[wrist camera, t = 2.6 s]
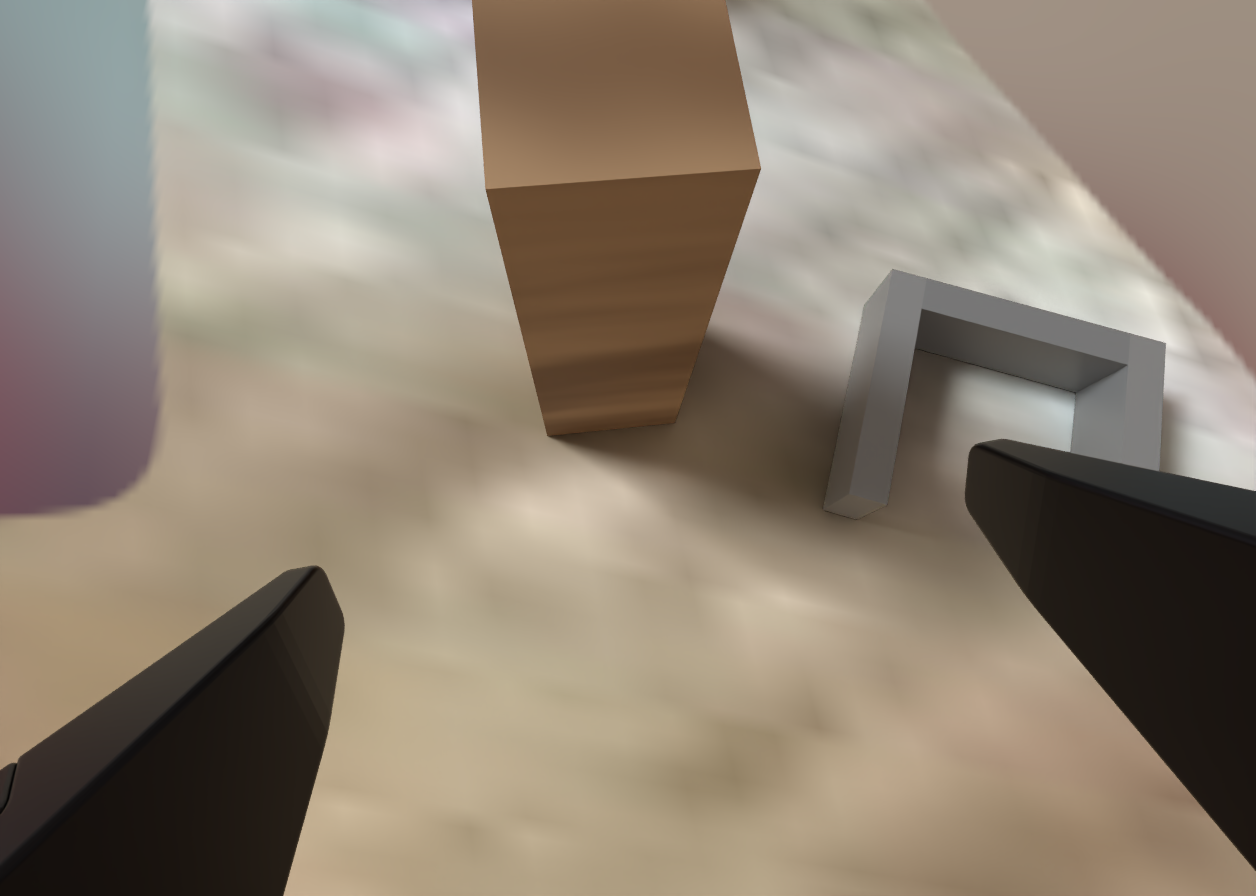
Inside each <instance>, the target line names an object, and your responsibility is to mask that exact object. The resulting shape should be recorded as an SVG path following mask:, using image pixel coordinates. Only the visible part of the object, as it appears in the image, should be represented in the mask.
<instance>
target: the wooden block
mask: <svg viewBox="0 0 1256 896" xmlns="http://www.w3.org/2000/svg"><path fill="white" fill-rule="evenodd" d="M472 7H473V21H474V35H475V49H476V63H477V76H478V90H479V104H480V118H481V132H482V146H483V160H484V174H485V188H486V193H487V197H488V201H489V205H490V209H491V213H492V217H493V221H494V225H495V229H496V233H497V237H498V241H499V245H500V249H501V253H502V257H503V261H504V265H505V269H506V273H507V277H508V281H509V285H510V288H511V292H512V296H513V300H514V304H515V308H516V312H517V316H518V320H519V324H520V328H521V332H522V336H523V340H524V344H525V348H526V352H527V356H528V360H529V364H530V368H531V372H532V376H533V380H534V384H535V388H536V392H537V396H538V400H539V404H540V408H541V412H542V416H543V420H544V424H545V428H546V432H547V436H552V435H562V434H572V433H582V432H591V431H601V430H611V429H620V428H630V427H640V426H650V425H659V424H669V423H675V421H676V418H677V415H678V412H679V409H680V406H681V403H682V400H683V398H684V395H685V392H686V389H687V386H688V383H689V380H690V377H691V374H692V371H693V368H694V365H695V362H696V359H697V356H698V353H699V350H700V347H701V344H702V341H703V338H704V335H705V333H706V330H707V327H708V324H709V321H710V318H711V315H712V312H713V309H714V306H715V303H716V300H717V297H718V294H719V291H720V288H721V285H722V282H723V279H724V276H725V273H726V271H727V268H728V265H729V262H730V259H731V256H732V253H733V250H734V247H735V244H736V241H737V238H738V235H739V232H740V229H741V226H742V223H743V220H744V217H745V214H746V211H747V209H748V206H749V203H750V200H751V197H752V194H753V191H754V188H755V185H756V182H757V179H758V176H759V173H760V170H761V166H760V161H759V157H758V152H757V147H756V143H755V138H754V133H753V128H752V124H751V119H750V114H749V110H748V105H747V100H746V95H745V91H744V86H743V81H742V77H741V72H740V67H739V62H738V58H737V53H736V48H735V44H734V39H733V34H732V29H731V25H730V20H729V15H728V11H727V6H726V1H725V0H472Z"/></svg>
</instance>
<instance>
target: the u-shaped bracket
mask: <svg viewBox="0 0 1256 896" xmlns="http://www.w3.org/2000/svg"><path fill="white" fill-rule="evenodd" d="M915 348H916V349H920V350H924V351H927V352H931V353H935V354H938V355H942V356H945V357H949V358H953V359H956V360H960V361H964V362H967V363H971V364H974V365H978V366H982V367H985V368H989V369H993V370H996V371H1000V372H1003V373H1007V374H1011V375H1014V376H1018V377H1022V378H1025V379H1029V380H1032V381H1036V382H1040V383H1043V384H1047V385H1051V386H1054V387H1058V388H1061V389H1065V390H1069V391H1072V392H1076V399H1075V409H1074V420H1073V431H1072V442H1071V453H1075V454H1079V455H1084V456H1089V457H1094V458H1099V459H1103V460H1108V461H1113V462H1118V463H1123V464H1127V465H1132V466H1137V467H1142V468H1147V469H1151V470H1156V471H1159V469H1160V449H1161V429H1162V409H1163V389H1164V369H1165V349H1166V343H1163V342H1160V341H1156V340H1152V339H1149V338H1145V337H1141V336H1138V335H1134V334H1130V333H1127V332H1123V331H1119V330H1116V329H1112V328H1108V327H1104V326H1101V325H1097V324H1093V323H1090V322H1086V321H1082V320H1079V319H1075V318H1071V317H1068V316H1064V315H1060V314H1057V313H1053V312H1049V311H1045V310H1042V309H1038V308H1034V307H1031V306H1027V305H1023V304H1020V303H1016V302H1012V301H1009V300H1005V299H1001V298H998V297H994V296H990V295H987V294H983V293H979V292H975V291H972V290H968V289H964V288H961V287H957V286H953V285H950V284H946V283H942V282H939V281H935V280H931V279H928V278H924V277H920V276H916V275H913V274H909V273H905V272H902V271H898V270H894V269H892V270H891V272H890V273H889V274H888V275H887V277H886V278H885V279H884V280H883V282H882V283H881V284H880V286H879V287H878V288H877V289H876V291H875V292H874V293H873V295H872V296H871V297H870V298H869V300H868V301H867V302H866V304H865V305H864V309H863V314H862V319H861V324H860V329H859V334H858V339H857V344H856V349H855V354H854V358H853V363H852V368H851V373H850V378H849V383H848V388H847V393H846V398H845V403H844V408H843V413H842V417H841V422H840V427H839V432H838V437H837V442H836V447H835V452H834V457H833V462H832V467H831V472H830V477H829V481H828V486H827V491H826V496H825V501H824V506H823V510H825V511H828V512H832V513H835V514H839V515H842V516H846V517H849V518H853V519H856V520H857V519H859V518H861V517H863V516H865V515H868V514H870V513H872V512H874V511H876V510H878V509H880V508H882V507H884V506H886V505H887V504H888V498H889V493H890V487H891V481H892V475H893V470H894V464H895V458H896V452H897V447H898V441H899V435H900V430H901V424H902V418H903V412H904V407H905V401H906V395H907V389H908V384H909V378H910V372H911V366H912V361H913V355H914V349H915Z"/></svg>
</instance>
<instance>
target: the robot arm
mask: <svg viewBox="0 0 1256 896" xmlns="http://www.w3.org/2000/svg"><path fill="white" fill-rule="evenodd" d="M965 502H966V506H967V509H968V511H969V513H970V515H971V516H972V518H973V519H974V521H975V522H976V524H977V525H978V527H979V528H980V529H981V531H982V532H983V534H984V535H985V537H986V538H987V540H988V541H989V543H990V544H991V546H992V547H993V549H994V550H995V552H996V553H997V555H998V556H999V558H1000V559H1001V561H1002V562H1003V564H1004V565H1005V567H1006V568H1007V570H1008V571H1009V573H1010V574H1011V576H1012V577H1013V579H1014V580H1015V582H1016V583H1017V584H1018V586H1019V587H1020V589H1021V590H1022V591H1023V593H1024V594H1025V596H1026V597H1027V598H1028V599H1029V601H1030V602H1031V603H1032V604H1033V606H1034V607H1035V608H1036V610H1037V611H1038V612H1039V613H1040V614H1041V616H1042V617H1043V618H1044V619H1045V620H1046V622H1047V623H1048V624H1049V625H1050V626H1051V628H1052V629H1053V630H1054V631H1055V632H1056V633H1057V635H1058V636H1059V637H1060V638H1061V639H1062V641H1063V642H1064V643H1065V644H1066V645H1067V647H1068V648H1069V649H1070V650H1071V651H1072V653H1073V654H1074V655H1075V656H1076V657H1077V659H1078V660H1079V661H1080V662H1081V663H1082V664H1083V666H1084V667H1085V668H1086V669H1087V670H1088V672H1089V673H1090V674H1091V675H1092V676H1093V678H1094V679H1095V680H1096V681H1097V682H1098V684H1099V685H1100V686H1101V687H1102V688H1103V690H1104V691H1105V692H1106V693H1107V694H1108V695H1109V697H1110V698H1111V699H1112V700H1113V701H1114V703H1115V704H1116V705H1117V706H1118V707H1119V709H1120V710H1121V711H1122V712H1123V713H1124V715H1125V716H1126V717H1127V718H1128V719H1129V721H1130V722H1131V723H1132V724H1133V725H1134V726H1135V728H1136V729H1137V730H1138V731H1139V732H1140V734H1141V735H1142V736H1143V737H1144V738H1145V740H1146V741H1147V742H1148V743H1149V744H1150V746H1151V747H1152V748H1153V749H1154V750H1155V752H1156V753H1157V754H1158V755H1159V756H1160V757H1161V759H1162V760H1163V761H1164V762H1165V763H1166V765H1167V766H1168V767H1169V768H1170V769H1171V771H1172V772H1173V773H1174V774H1175V775H1176V777H1177V778H1178V779H1179V780H1180V781H1181V783H1182V784H1183V785H1184V786H1185V787H1186V789H1187V790H1188V791H1189V792H1190V793H1191V794H1192V796H1193V797H1194V798H1195V799H1196V800H1197V802H1198V803H1199V804H1200V805H1201V806H1202V808H1203V809H1204V810H1205V811H1206V812H1207V814H1208V815H1209V816H1210V817H1211V818H1212V820H1213V821H1214V822H1215V823H1216V824H1217V825H1218V827H1219V828H1220V829H1221V830H1222V831H1223V833H1224V834H1225V835H1226V836H1227V837H1228V839H1229V840H1230V841H1231V842H1232V843H1233V845H1234V846H1235V847H1236V848H1237V849H1238V851H1239V852H1240V853H1241V854H1242V855H1243V856H1244V858H1245V859H1246V860H1247V861H1248V862H1249V864H1250V865H1251V866H1252V867H1253V868H1254V870H1255V871H1256V491H1252V490H1247V489H1242V488H1238V487H1233V486H1228V485H1223V484H1218V483H1214V482H1209V481H1204V480H1199V479H1195V478H1190V477H1185V476H1180V475H1175V474H1171V473H1166V472H1161V471H1156V470H1151V469H1147V468H1142V467H1137V466H1132V465H1127V464H1123V463H1118V462H1113V461H1108V460H1103V459H1099V458H1094V457H1089V456H1084V455H1079V454H1075V453H1070V452H1065V451H1060V450H1055V449H1051V448H1046V447H1041V446H1036V445H1032V444H1027V443H1022V442H1017V441H1012V440H1008V439H998V440H992V441H987V442H982V443H978V444H975V445H974V446H973V447H972V448H971V450H970V452H969V458H968V468H967V478H966V488H965ZM344 629H345V624H344V617H343V613H342V610H341V608H340V606H339V603H338V601H337V599H336V596H335V594H334V591H333V589H332V587H331V584H330V582H329V580H328V577H327V575H326V573H325V572H324V570H323V569H322V568H321V567H319V566H307V567H302V568H296V569H291V570H288V571H286V572H284V573H282V574H281V575H279V576H278V577H277V578H275V579H274V580H272V581H271V582H269V583H268V584H267V585H265V586H264V587H262V588H261V589H259V590H258V591H257V592H255V593H254V594H252V595H251V596H249V597H248V598H247V599H245V600H244V601H242V602H241V603H239V604H238V605H236V606H235V607H234V608H232V609H231V610H229V611H228V612H226V613H225V614H224V615H222V616H221V617H219V618H218V619H216V620H215V621H214V622H212V623H211V624H209V625H208V626H206V627H205V628H204V629H202V630H201V631H199V632H198V633H196V634H195V635H194V636H192V637H191V638H189V639H188V640H186V641H185V642H184V643H182V644H181V645H179V646H178V647H176V648H175V649H173V650H172V651H171V652H169V653H168V654H166V655H165V656H163V657H162V658H161V659H159V660H158V661H156V662H155V663H153V664H152V665H151V666H149V667H148V668H146V669H145V670H143V671H142V672H141V673H139V674H138V675H136V676H135V677H133V678H132V679H131V680H129V681H128V682H126V683H125V684H123V685H122V686H120V687H119V688H118V689H116V690H115V691H113V692H112V693H110V694H109V695H108V696H106V697H105V698H103V699H102V700H100V701H99V702H98V703H96V704H95V705H93V706H92V707H90V708H89V709H88V710H86V711H85V712H83V713H82V714H80V715H79V716H78V717H76V718H75V719H73V720H72V721H70V722H69V723H68V724H66V725H65V726H63V727H62V728H60V729H59V730H57V731H56V732H55V733H53V734H52V735H50V736H49V737H47V738H46V739H45V740H43V741H42V742H40V743H39V744H37V745H36V746H35V747H33V748H32V749H30V750H29V751H27V752H26V753H25V754H23V755H22V756H20V757H19V759H18V762H17V763H10V764H9V765H7V766H6V767H4V768H3V769H1V770H0V896H283V895H284V891H285V888H286V884H287V880H288V877H289V873H290V870H291V866H292V862H293V859H294V855H295V852H296V848H297V844H298V841H299V837H300V834H301V830H302V826H303V823H304V819H305V816H306V812H307V808H308V805H309V801H310V798H311V794H312V790H313V787H314V783H315V780H316V776H317V772H318V769H319V765H320V762H321V758H322V754H323V751H324V747H325V743H326V739H327V735H328V730H329V725H330V719H331V714H332V707H333V701H334V694H335V688H336V682H337V675H338V669H339V662H340V656H341V650H342V643H343V637H344Z"/></svg>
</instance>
